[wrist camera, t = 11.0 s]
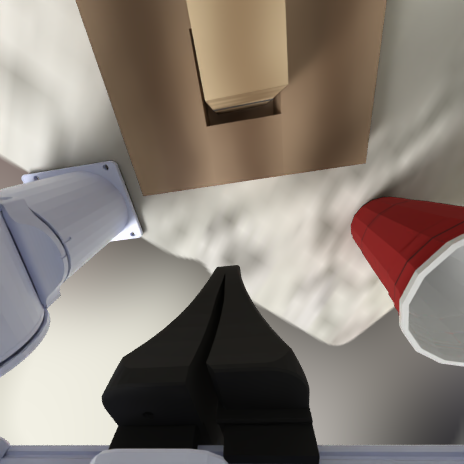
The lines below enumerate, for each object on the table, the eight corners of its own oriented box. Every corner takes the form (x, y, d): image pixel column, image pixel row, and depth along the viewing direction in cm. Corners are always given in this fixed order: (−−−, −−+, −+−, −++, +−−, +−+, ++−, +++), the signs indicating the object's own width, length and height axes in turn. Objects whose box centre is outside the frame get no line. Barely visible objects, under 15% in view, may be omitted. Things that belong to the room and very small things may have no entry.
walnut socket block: (157, 186, 20) (143, 196, 17) (96, -12, 14) (57, -53, 11) (343, 158, 19) (365, 163, 16) (363, -73, 13) (404, -139, 10)
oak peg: (216, 115, 17) (204, 102, 10) (206, 53, 15) (181, -18, 8) (265, 105, 17) (289, 85, 10) (260, 41, 15) (284, -43, 8)
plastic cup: (394, 143, 18) (621, 157, 8) (452, 214, 21) (676, 297, 10) (303, 227, 22) (369, 317, 11) (363, 278, 25) (462, 389, 14)
